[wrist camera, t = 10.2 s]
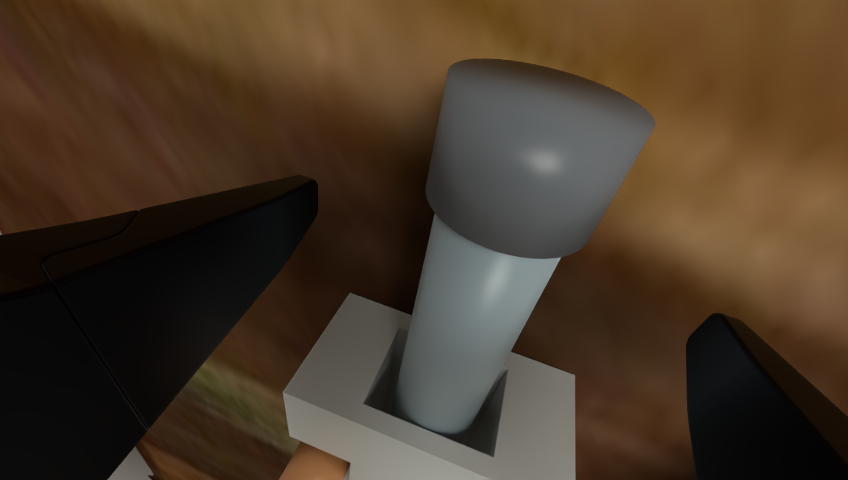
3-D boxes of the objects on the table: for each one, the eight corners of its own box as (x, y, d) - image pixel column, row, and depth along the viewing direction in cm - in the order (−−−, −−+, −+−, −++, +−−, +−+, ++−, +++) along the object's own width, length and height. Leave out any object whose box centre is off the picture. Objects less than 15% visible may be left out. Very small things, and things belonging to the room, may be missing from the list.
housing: (511, 456, 24) (497, 570, 20) (344, 388, 26) (296, 479, 22) (574, 375, 18) (575, 514, 14) (349, 292, 20) (282, 392, 15)
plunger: (352, 467, 20) (329, 519, 18) (306, 446, 21) (278, 496, 19) (354, 445, 18) (329, 501, 17) (303, 424, 19) (273, 476, 17)
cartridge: (482, 392, 20) (463, 485, 16) (402, 361, 20) (366, 444, 17) (639, 90, 10) (676, 162, 6) (471, 48, 10) (420, 92, 7)
